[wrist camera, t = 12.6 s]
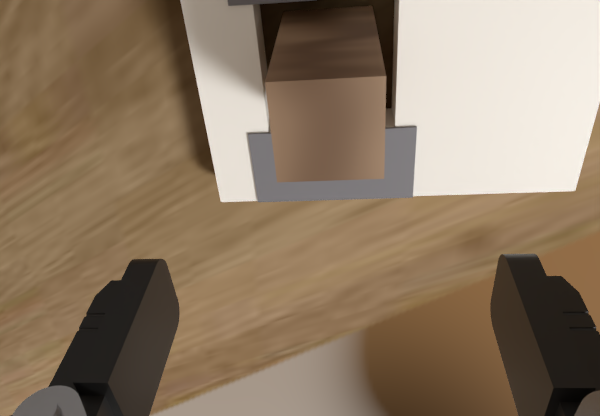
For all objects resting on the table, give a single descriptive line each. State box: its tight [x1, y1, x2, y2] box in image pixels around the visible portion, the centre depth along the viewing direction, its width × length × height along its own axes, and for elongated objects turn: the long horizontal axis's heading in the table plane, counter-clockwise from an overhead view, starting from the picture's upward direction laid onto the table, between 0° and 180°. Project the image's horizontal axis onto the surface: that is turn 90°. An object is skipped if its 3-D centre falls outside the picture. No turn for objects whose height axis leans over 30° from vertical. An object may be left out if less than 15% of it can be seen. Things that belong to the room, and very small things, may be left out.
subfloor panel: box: [180, 0, 600, 202], centre depth 24 cm, size 18×14×2 cm
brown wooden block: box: [265, 6, 386, 182], centre depth 22 cm, size 4×4×8 cm
